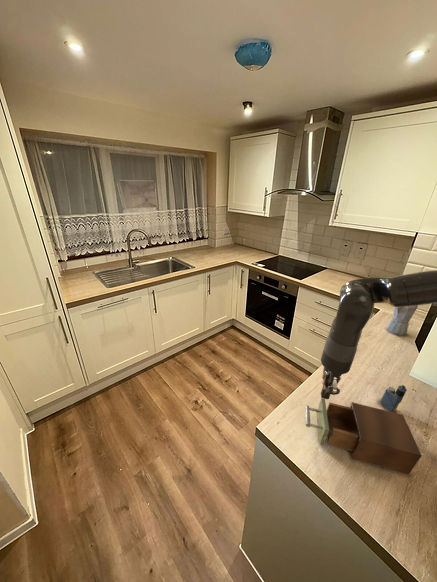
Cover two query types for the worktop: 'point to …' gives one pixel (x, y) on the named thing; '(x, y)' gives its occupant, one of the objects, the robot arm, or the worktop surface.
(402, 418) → the cabinet
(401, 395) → the vaping device
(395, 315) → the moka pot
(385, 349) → the worktop surface
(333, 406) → the drawer
